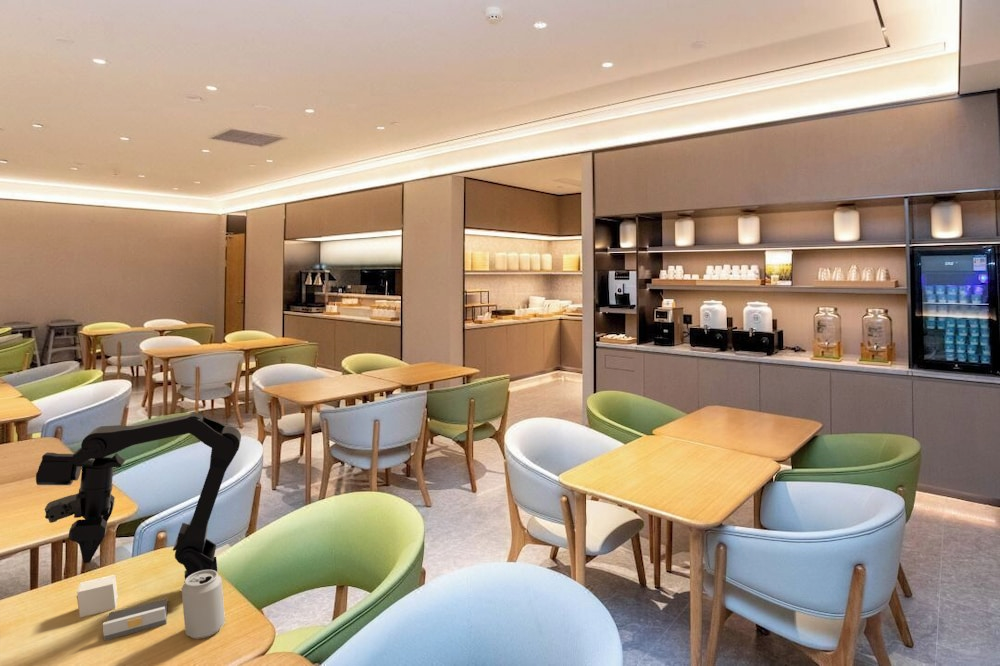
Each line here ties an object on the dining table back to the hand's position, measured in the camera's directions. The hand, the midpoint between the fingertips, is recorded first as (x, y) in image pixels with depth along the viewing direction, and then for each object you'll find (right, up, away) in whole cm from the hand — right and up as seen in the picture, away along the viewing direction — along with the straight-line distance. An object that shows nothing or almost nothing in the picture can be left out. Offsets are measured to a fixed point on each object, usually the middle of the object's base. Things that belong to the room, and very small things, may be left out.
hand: (89, 552), depth 126 cm
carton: (+1, -13, +2) cm, 14 cm away
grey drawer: (+12, -14, -3) cm, 19 cm away
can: (+29, -14, -6) cm, 33 cm away
